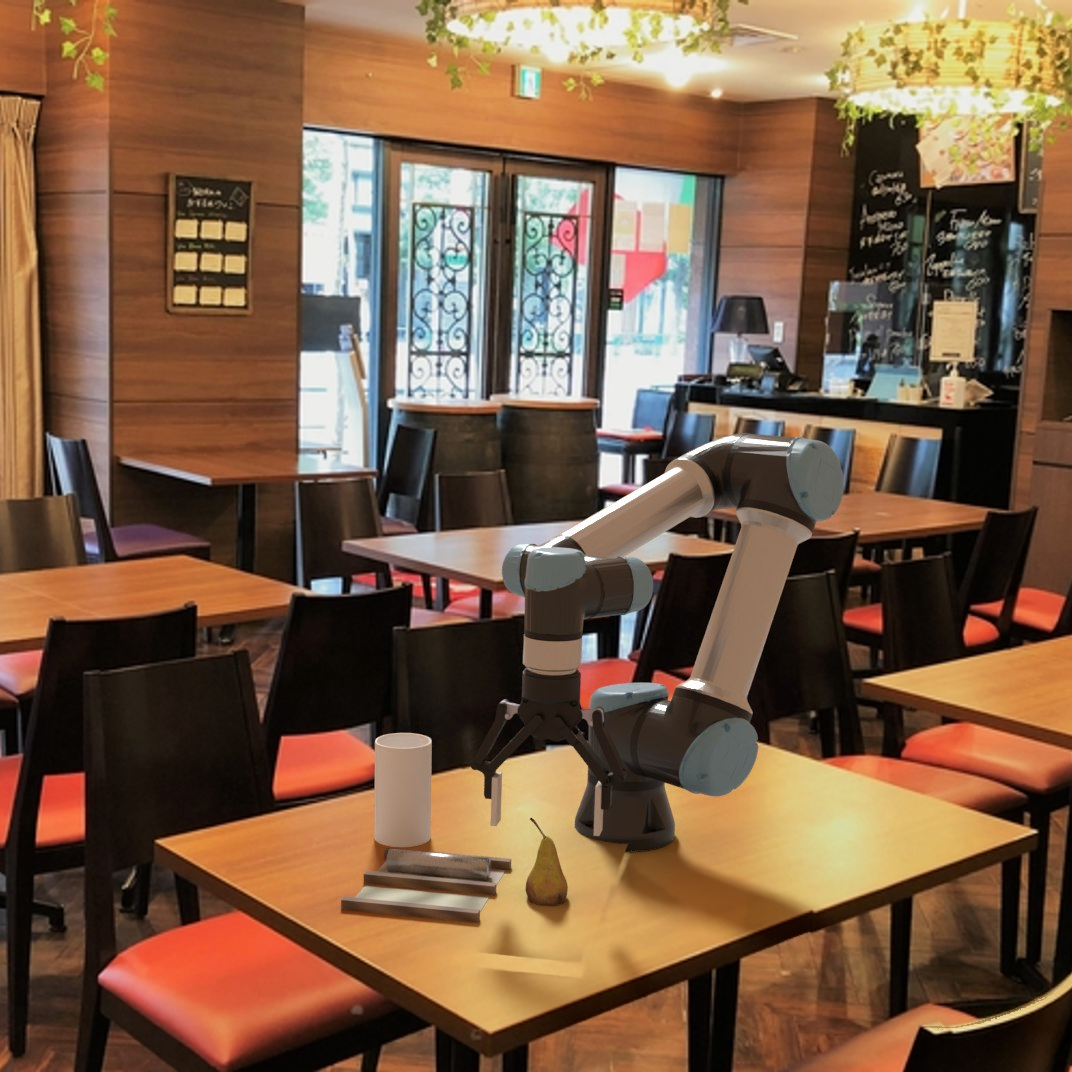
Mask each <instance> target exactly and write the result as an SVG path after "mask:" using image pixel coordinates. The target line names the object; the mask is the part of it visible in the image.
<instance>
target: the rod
mask: <svg viewBox="0 0 1072 1072" xmlns="http://www.w3.org/2000/svg"><path fill="white" fill-rule="evenodd" d="M400 849H401V848H397V849H389V851H388V854H387V859H385V861H386V867H387V870H388V871H395V872H405V873H416V874H427V875H437V876H448V877H459V878H469V879H480V880H488V879H489V877H490V873H491V859H490V858H488V857H489V856H486V857H477V856H478V855H475V856H466V855H467V854H464V855H455V854H456V853H453V854H444V853H445V852H441V853H433V852H434V851H430V852H422V851H423V850H419V851H411V850H412V849H408V850H400Z"/></svg>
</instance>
